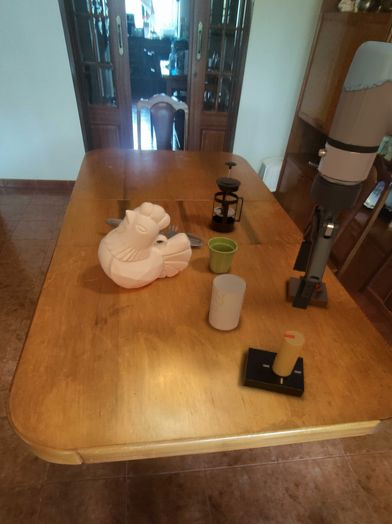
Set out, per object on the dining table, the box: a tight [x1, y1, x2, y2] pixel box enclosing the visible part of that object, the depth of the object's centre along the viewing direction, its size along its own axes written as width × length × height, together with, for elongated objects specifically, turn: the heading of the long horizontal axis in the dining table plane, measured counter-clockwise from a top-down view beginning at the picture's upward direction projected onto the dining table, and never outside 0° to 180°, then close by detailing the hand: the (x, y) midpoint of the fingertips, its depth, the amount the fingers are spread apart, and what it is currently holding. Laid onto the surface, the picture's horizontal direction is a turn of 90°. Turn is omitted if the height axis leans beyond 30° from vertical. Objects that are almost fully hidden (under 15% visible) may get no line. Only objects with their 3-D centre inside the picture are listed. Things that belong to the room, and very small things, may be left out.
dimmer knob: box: [272, 330, 306, 376], centre depth 68 cm, size 4×4×10 cm
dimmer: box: [242, 347, 305, 398], centre depth 73 cm, size 13×10×3 cm
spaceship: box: [104, 217, 205, 247], centre depth 110 cm, size 8×35×8 cm
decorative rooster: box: [97, 201, 193, 289], centre depth 88 cm, size 25×16×25 cm
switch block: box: [287, 276, 329, 308], centre depth 96 cm, size 11×10×4 cm
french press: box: [209, 161, 245, 234], centre depth 116 cm, size 12×9×23 cm
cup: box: [208, 273, 247, 331], centre depth 82 cm, size 8×8×12 cm
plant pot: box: [207, 236, 239, 275], centre depth 101 cm, size 9×9×9 cm
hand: (299, 287), depth 66 cm, fingers open, 13 cm apart
